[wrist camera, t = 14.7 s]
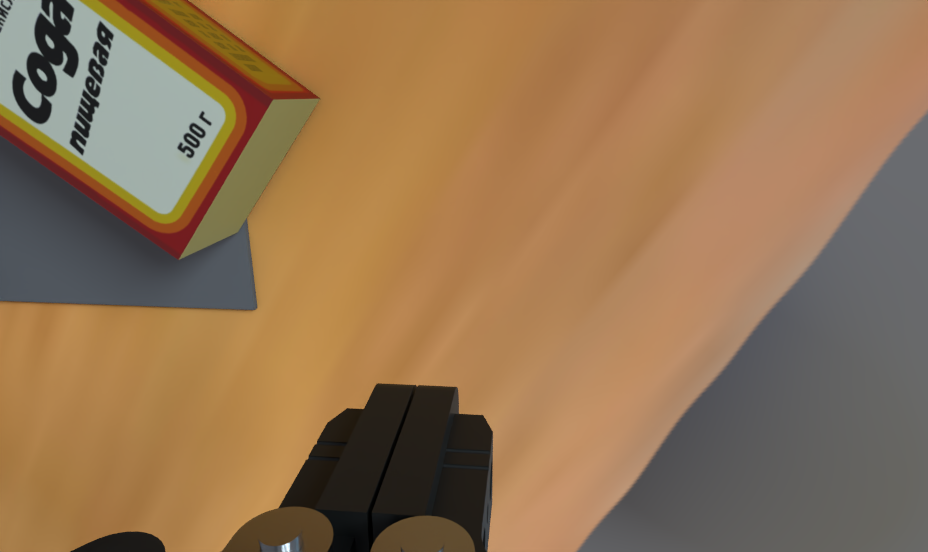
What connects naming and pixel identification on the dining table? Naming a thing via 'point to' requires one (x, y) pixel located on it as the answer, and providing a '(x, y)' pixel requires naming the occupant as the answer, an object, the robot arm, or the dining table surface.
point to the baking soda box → (148, 111)
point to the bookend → (102, 250)
